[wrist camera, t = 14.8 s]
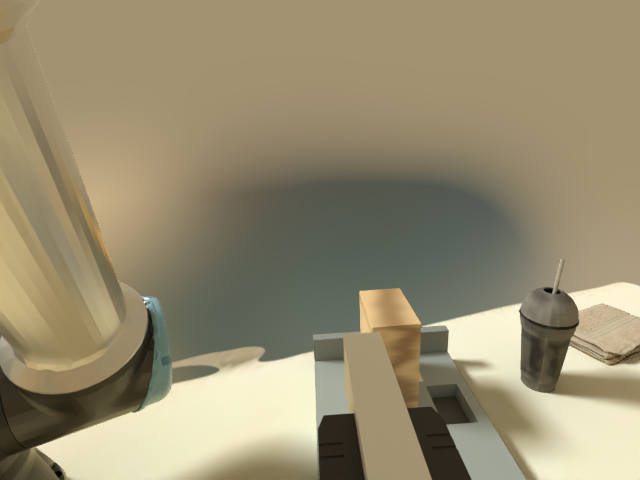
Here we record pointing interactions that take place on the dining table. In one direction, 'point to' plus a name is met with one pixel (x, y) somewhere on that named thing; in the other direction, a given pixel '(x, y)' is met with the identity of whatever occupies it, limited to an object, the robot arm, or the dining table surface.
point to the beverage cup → (546, 334)
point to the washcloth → (607, 334)
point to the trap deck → (425, 401)
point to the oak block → (395, 336)
